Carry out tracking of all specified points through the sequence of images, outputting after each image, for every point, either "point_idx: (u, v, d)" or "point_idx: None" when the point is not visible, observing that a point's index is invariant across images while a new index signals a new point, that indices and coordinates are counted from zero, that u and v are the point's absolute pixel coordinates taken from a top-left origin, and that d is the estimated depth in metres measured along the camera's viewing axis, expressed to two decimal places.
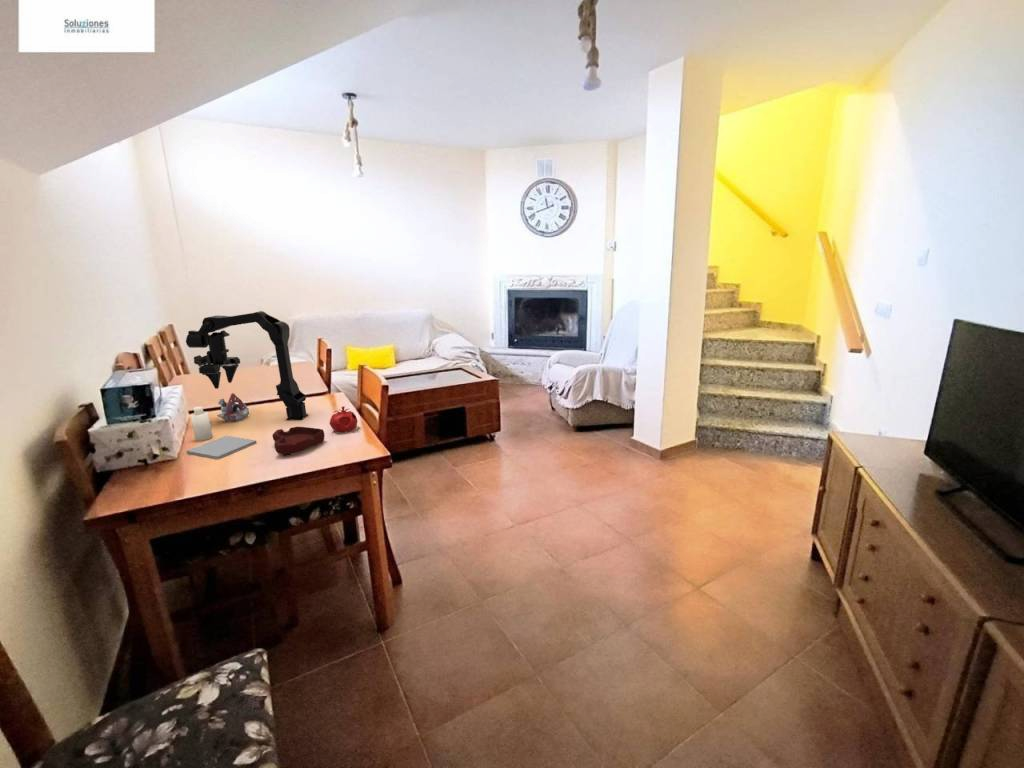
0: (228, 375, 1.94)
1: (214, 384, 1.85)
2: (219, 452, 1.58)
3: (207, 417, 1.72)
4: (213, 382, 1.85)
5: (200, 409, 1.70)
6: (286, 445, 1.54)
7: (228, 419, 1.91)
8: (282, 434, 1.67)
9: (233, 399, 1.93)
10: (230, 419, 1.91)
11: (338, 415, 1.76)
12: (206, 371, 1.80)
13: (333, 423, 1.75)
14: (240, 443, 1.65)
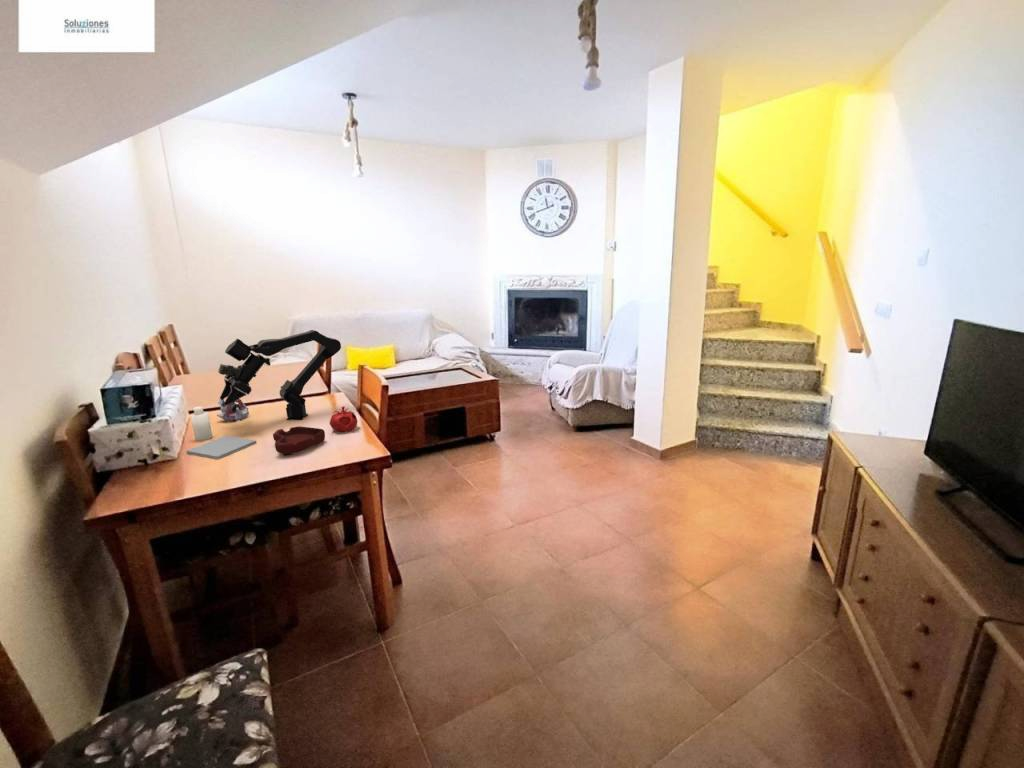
0: (225, 392, 1.80)
1: (228, 400, 1.72)
2: (219, 452, 1.58)
3: (207, 417, 1.72)
4: (229, 398, 1.72)
5: (200, 409, 1.70)
6: (287, 445, 1.54)
7: (227, 419, 1.91)
8: (283, 434, 1.67)
9: None
10: (229, 419, 1.91)
11: (338, 415, 1.76)
12: (242, 389, 1.71)
13: (333, 423, 1.75)
14: (240, 443, 1.65)
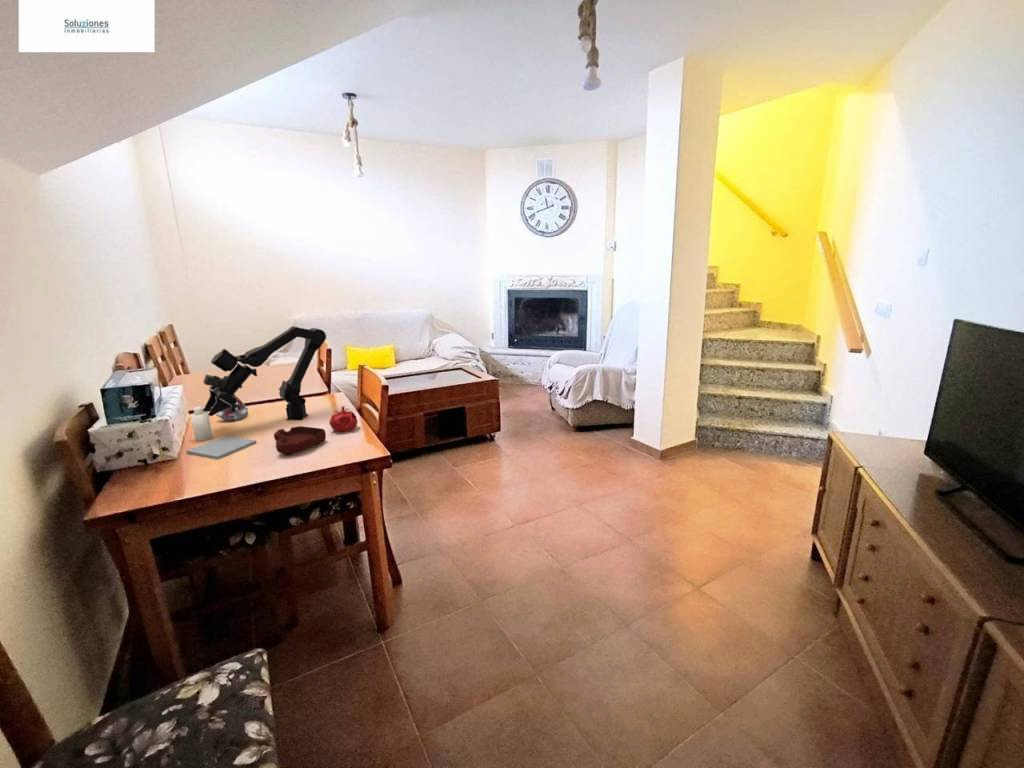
0: (210, 402, 1.77)
1: (212, 411, 1.69)
2: (219, 452, 1.58)
3: (207, 417, 1.72)
4: (214, 409, 1.69)
5: (200, 409, 1.70)
6: (287, 445, 1.54)
7: (226, 419, 1.91)
8: (283, 434, 1.67)
9: None
10: (228, 419, 1.91)
11: (338, 415, 1.76)
12: (227, 400, 1.68)
13: (333, 423, 1.75)
14: (240, 443, 1.65)
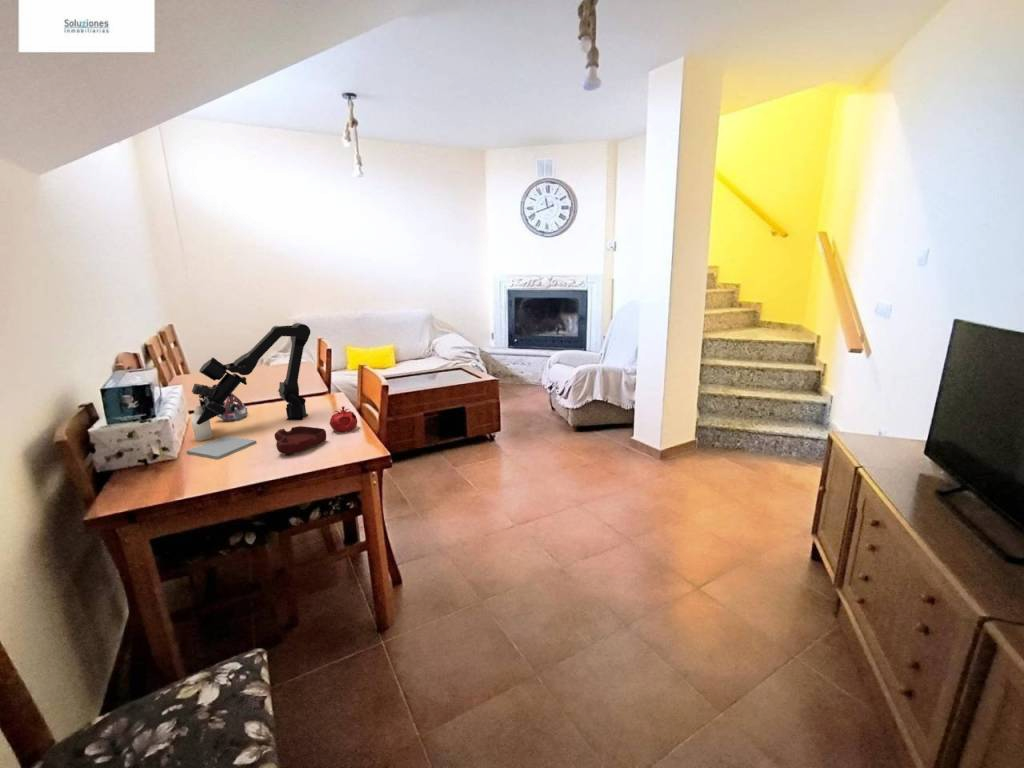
0: None
1: (200, 419, 1.69)
2: (219, 452, 1.58)
3: None
4: (202, 418, 1.69)
5: (200, 409, 1.70)
6: (288, 445, 1.54)
7: (226, 419, 1.91)
8: (284, 434, 1.67)
9: (231, 399, 1.93)
10: (228, 419, 1.91)
11: (338, 415, 1.76)
12: (216, 409, 1.66)
13: (333, 423, 1.75)
14: (240, 443, 1.65)
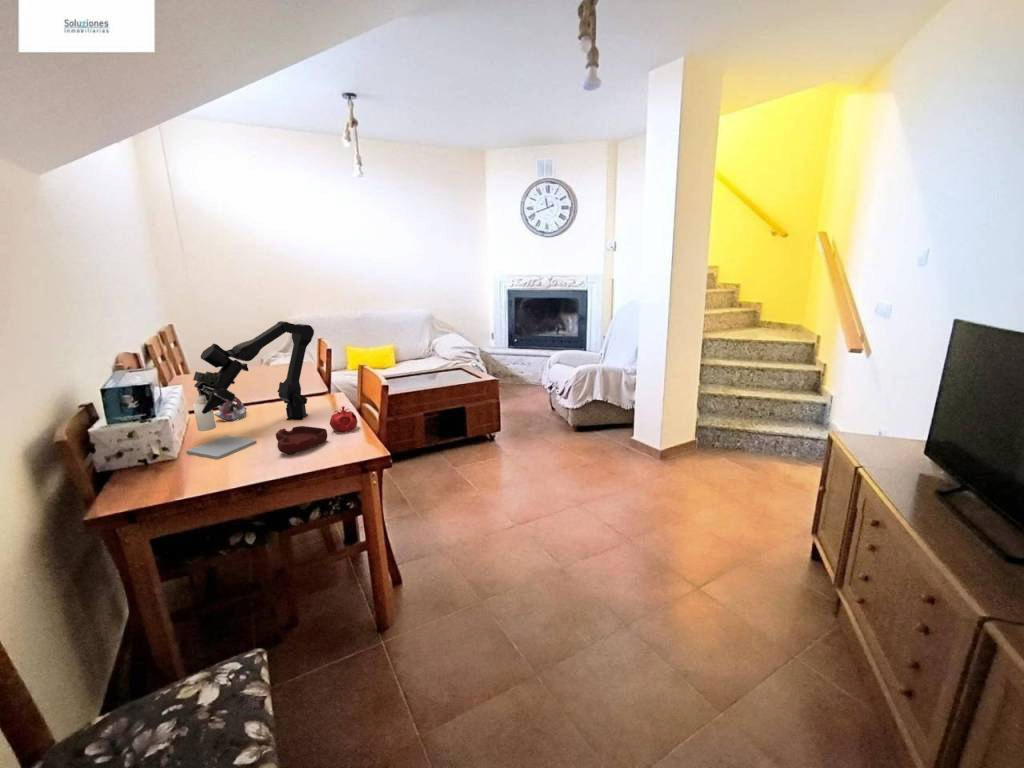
0: None
1: (206, 408, 1.62)
2: (219, 452, 1.58)
3: None
4: (208, 406, 1.62)
5: (204, 398, 1.63)
6: (289, 444, 1.55)
7: (225, 418, 1.92)
8: (285, 433, 1.67)
9: None
10: (227, 418, 1.92)
11: (338, 415, 1.76)
12: (226, 396, 1.62)
13: (333, 423, 1.75)
14: (240, 443, 1.65)
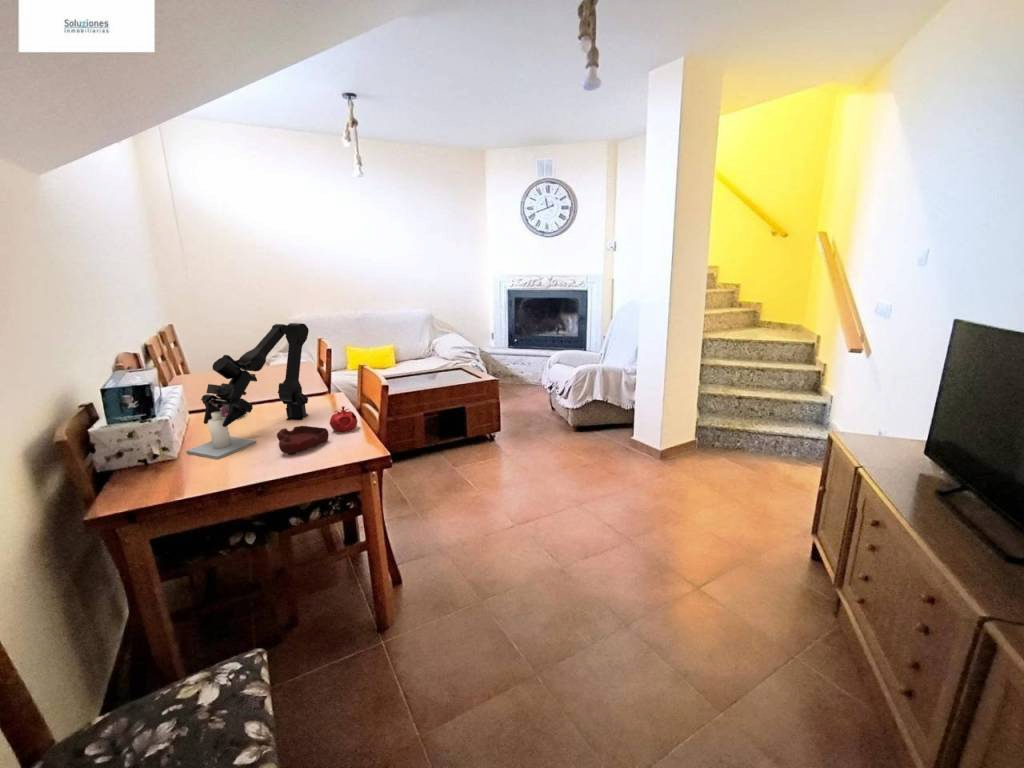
0: (209, 415, 1.63)
1: (227, 421, 1.59)
2: (219, 452, 1.58)
3: None
4: (229, 419, 1.59)
5: (220, 414, 1.61)
6: (291, 444, 1.55)
7: None
8: (286, 433, 1.68)
9: None
10: None
11: (338, 415, 1.76)
12: (246, 407, 1.61)
13: (333, 423, 1.75)
14: (240, 443, 1.65)
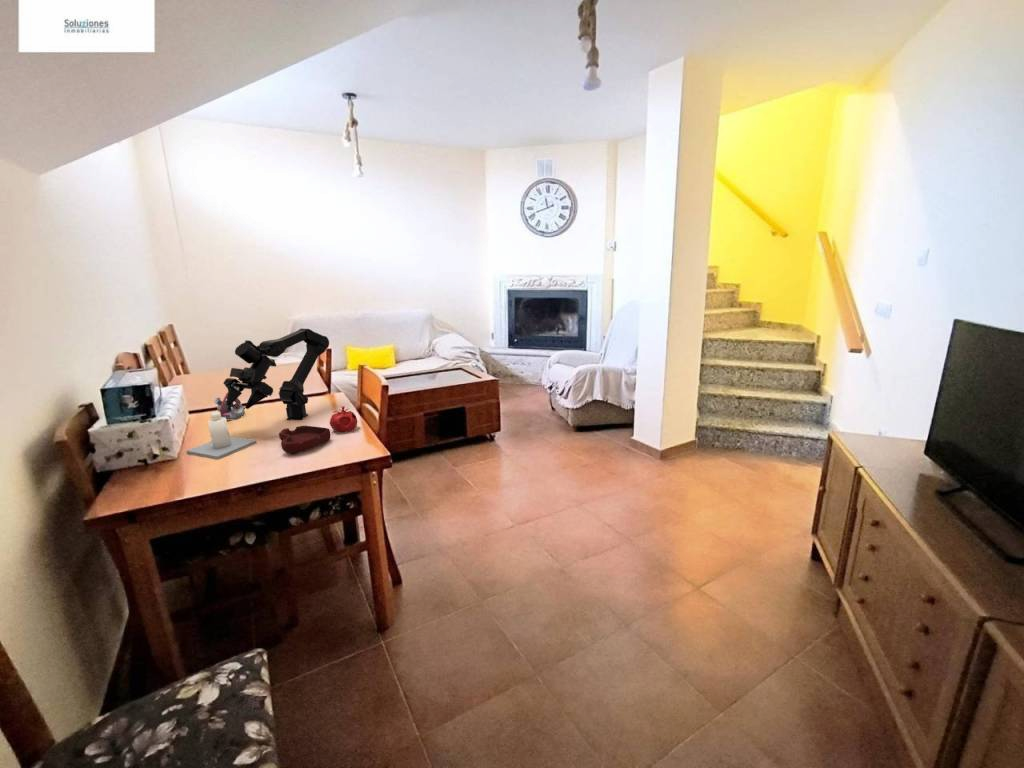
0: (231, 398, 1.71)
1: (249, 403, 1.67)
2: (219, 452, 1.58)
3: (226, 422, 1.63)
4: (251, 401, 1.67)
5: (219, 414, 1.61)
6: (293, 444, 1.55)
7: None
8: (288, 433, 1.68)
9: None
10: None
11: (338, 415, 1.76)
12: (267, 390, 1.69)
13: (333, 423, 1.75)
14: (240, 443, 1.65)
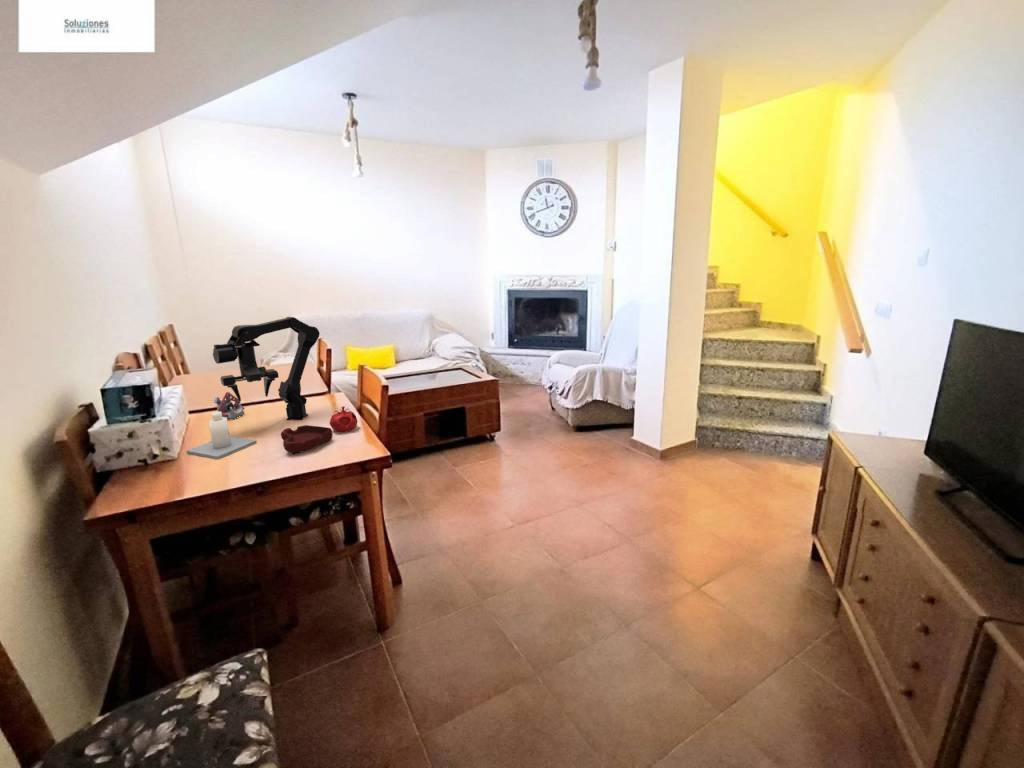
0: (238, 393, 1.76)
1: None
2: (219, 452, 1.58)
3: (227, 422, 1.63)
4: None
5: (221, 414, 1.61)
6: (295, 443, 1.55)
7: None
8: (290, 433, 1.68)
9: (228, 398, 1.95)
10: None
11: (338, 415, 1.76)
12: None
13: (333, 423, 1.75)
14: (240, 443, 1.65)
